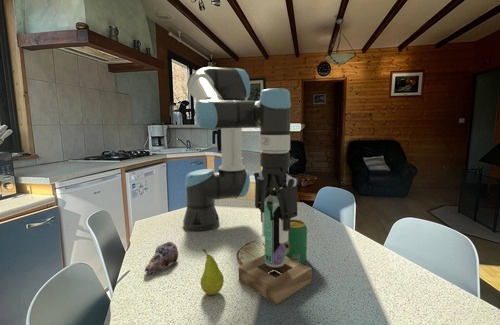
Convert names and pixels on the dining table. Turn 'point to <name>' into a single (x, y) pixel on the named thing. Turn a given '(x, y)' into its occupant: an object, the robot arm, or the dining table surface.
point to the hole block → (272, 287)
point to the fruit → (211, 277)
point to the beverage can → (296, 241)
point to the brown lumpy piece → (163, 257)
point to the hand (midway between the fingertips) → (275, 238)
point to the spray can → (273, 232)
